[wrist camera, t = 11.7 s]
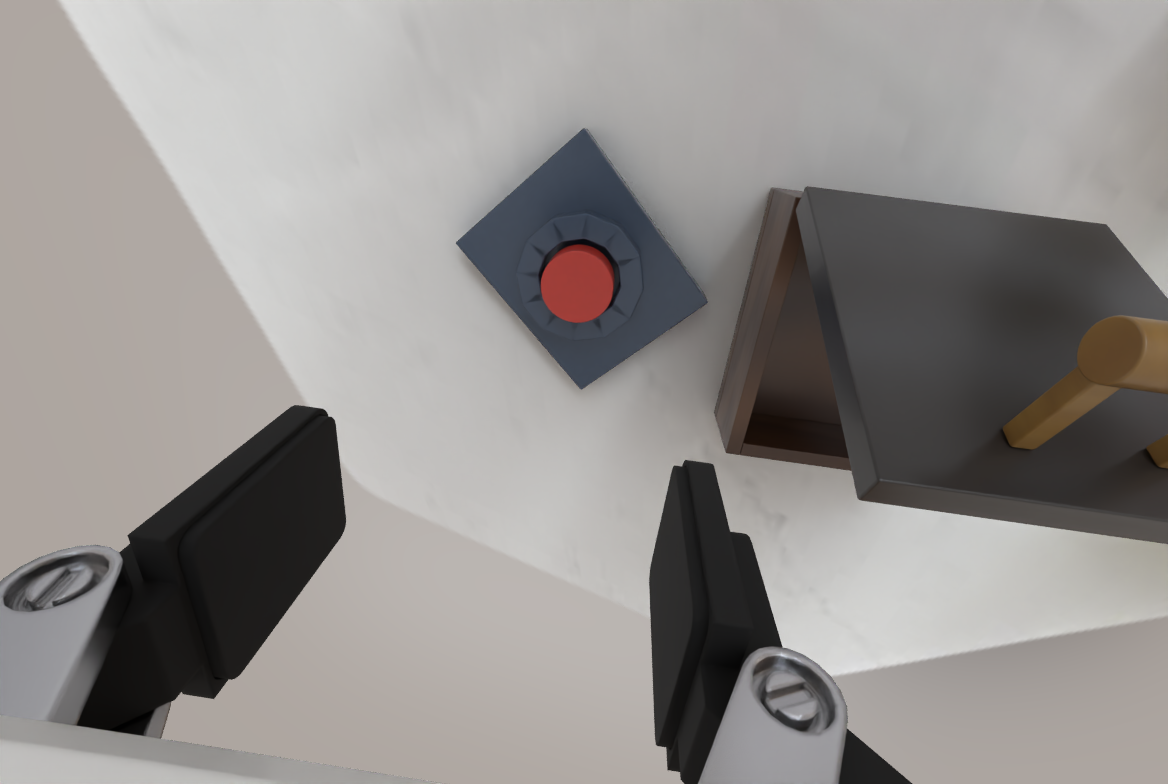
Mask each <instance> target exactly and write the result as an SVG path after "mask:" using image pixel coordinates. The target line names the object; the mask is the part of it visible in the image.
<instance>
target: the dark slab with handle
mask: <svg viewBox="0 0 1168 784" xmlns="http://www.w3.org/2000/svg"><path fill="white" fill-rule="evenodd" d="M796 214H797V219H798V223H799V228H800V233H801V237H802V242H803V246H804V251H805V256H806V260H807V265H808V270H809V274H810V279H811V284H812V288H813V293H814V298H815V302H816V307H817V312H818V316H819V321H820V326H821V330H822V335H823V340H824V344H825V349H826V354H827V358H828V363H829V367H830V372H831V377H832V381H833V386H834V391H835V395H836V400H837V405H838V409H839V414H840V419H841V423H842V428H843V433H844V437H845V442H846V447H847V451H848V456H849V461H850V465H851V470H852V474H853V479H854V484H855V488H856V493H857V498H858V499H859V500H862V501H869V502H876V503H883V504H890V505H897V506H904V507H911V508H918V509H925V510H932V511H939V512H946V513H953V514H960V515H967V516H974V517H981V518H988V519H995V520H1002V521H1009V522H1016V523H1023V524H1030V525H1037V526H1044V527H1051V528H1058V529H1065V530H1072V531H1080V532H1087V533H1094V534H1101V535H1108V536H1115V537H1122V538H1129V539H1136V540H1143V541H1150V542H1157V543H1164V544H1168V298H1167V297H1166V296H1165V295H1164V294H1163V292H1162V291H1161V290H1160V289H1159V288H1158V286H1157V285H1156V284H1155V283H1154V281H1153V280H1152V279H1151V278H1150V277H1149V275H1148V274H1147V273H1146V272H1145V271H1144V269H1143V268H1142V267H1141V266H1140V265H1139V263H1138V262H1137V261H1136V260H1135V259H1134V257H1133V256H1132V255H1131V254H1130V252H1129V251H1128V250H1127V249H1126V248H1125V246H1124V245H1123V244H1122V243H1121V242H1120V240H1119V239H1118V238H1117V237H1116V236H1115V234H1114V233H1113V232H1112V231H1111V230H1110V228H1109V227H1108V226H1107V225H1106V224H1099V223H1091V222H1083V221H1075V220H1067V219H1060V218H1052V217H1044V216H1036V215H1028V214H1020V213H1012V212H1005V211H997V210H989V209H981V208H973V207H965V206H957V205H949V204H942V203H934V202H926V201H918V200H910V199H902V198H894V197H887V196H879V195H871V194H863V193H855V192H847V191H839V190H832V189H824V188H816V187H808V186H807V187H805V189H804V192H803V194H802V196H801V199H800V201H799V203H798V206H797V208H796Z"/></svg>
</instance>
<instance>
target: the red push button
mask: <svg viewBox="0 0 1168 784" xmlns="http://www.w3.org/2000/svg"><path fill="white" fill-rule="evenodd" d="M613 289H614V272H613V268H612V266H611V264H610V262H609V260H608V259H607V258H606V256H605V255H604V254H603V253H602V252H600V251H599V250H597V249H595V248H593V247H591V246H588V245H580V244H578V245H571V246H568V247H565V248H563V249H561V250H560V251H559V252H557V253H556V254H555V255H554V256H553V258H552V259H551V260H550V262H549V263H548V265H547V266H546V268H545V270H544V272H543V275H542V278H541V293H542V297H543V299H544V302H545V304H546V305H547V307H548V308H549V309H550V310H551V312H552V313H554V314H555V315H556V316H558V317H559V318H561V319H563V320H566V321H569V322H575V323H582V322H587V321H590V320H593V319H595V318H597V317H598V316H600V315H601V314H602V313H603V312H604V311H605V310H606V309H607V307H608V306H609V304H610V302H611V299H612V295H613Z"/></svg>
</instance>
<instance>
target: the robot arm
mask: <svg viewBox="0 0 1168 784" xmlns="http://www.w3.org/2000/svg"><path fill="white" fill-rule="evenodd" d="M342 488H343V487H342V478H341V469H340V459H339V450H338V441H337V432H336V424H335V420H334V419H333V418H332V417H328V414H327V412H326V411H325V410H324V409H320V408H313V407H306V406H299V405H294V406H292V407H290V408H289V409H288V410H286V411H285V412H284V413H283V414H281V415H280V416H279V417H277V418H276V419H275V420H274V421H272V422H271V423H270V424H269V425H267V426H266V427H265V428H264V429H262V430H261V431H260V432H258V433H257V434H256V435H255V436H254V437H252V438H251V439H250V440H248V441H247V442H246V443H245V444H243V445H242V446H241V447H239V448H238V449H237V450H235V451H234V452H233V453H232V454H230V455H229V456H228V457H227V458H225V459H224V460H223V461H221V462H220V463H219V464H218V465H216V466H215V467H214V468H213V469H211V470H210V471H209V472H208V473H206V474H205V475H204V476H202V477H201V478H200V479H199V480H197V481H196V482H195V483H194V484H192V485H191V486H190V487H188V488H187V489H186V490H185V491H183V492H182V493H181V494H180V495H178V496H177V497H176V498H174V499H173V500H172V501H171V502H169V503H168V504H167V505H166V506H164V507H163V508H162V509H160V510H159V511H158V512H157V513H155V514H154V515H153V516H152V517H150V518H149V519H148V520H146V521H145V522H144V523H143V524H141V525H140V526H139V527H138V528H136V529H135V530H134V531H132V532H131V533H130V534H129V535H128V538H129V541H130V544H129V545H128V546H127V547H126V548H124V549H123V550H122V551H121V552H117V551H116V550H114V549H112V548H111V547H105V546H99V545H90V546H89V545H88V546H77V547H72V548H68V549H63V550H59V551H56V552H53V553H50V554H47V555H45V556H41V557H39V558H37V559H35V560H33V561H31V562H29V563H27V564H25V565H23V566H21V567H19V568H18V569H17V570H15V571H14V572H12V573H11V574H9V575H8V576H6V577H5V578H3V579H2V580H1V581H0V784H443V783H437V782H432V781H425V780H419V779H413V778H407V777H401V776H394V775H388V774H381V773H376V772H369V771H363V770H357V769H351V768H344V767H338V766H332V765H326V764H319V763H312V762H307V761H300V760H294V759H288V758H281V757H275V756H268V755H262V754H256V753H249V752H243V751H237V750H231V749H225V748H218V747H212V746H205V745H199V744H192V743H186V742H179V741H173V740H165V739H161V737H162V734H163V730H164V727H165V724H166V720H167V717H168V713H169V710H170V706H171V701H173V700H175V699H176V698H177V696H178V695H179V694H180V693H181V692H182V693H183V694H186V695H192V696H199V697H205V698H211V699H214V698H215V697H216V695H217V694H218V693H219V691H220V690H221V689H222V687H223V686H224V685H225V683H226V682H227V681H228V679H231V680H232V679H235V678H236V677H238V676H239V675H240V674H241V673H242V671H243V670H244V669H245V667H246V666H247V665H248V663H249V662H250V660H251V659H252V658H253V657H254V655H255V654H256V652H257V651H258V650H259V648H260V647H261V646H262V644H263V643H264V642H265V640H266V639H267V637H268V636H269V635H270V633H271V632H272V631H273V629H274V628H275V626H276V625H277V624H278V623H279V621H280V620H281V618H282V617H283V616H284V614H285V613H286V611H287V610H288V609H289V607H290V606H291V605H292V603H293V602H294V601H295V599H296V598H297V596H298V595H299V594H300V592H301V591H302V590H303V588H304V587H305V585H306V584H307V583H308V581H309V580H310V579H311V577H312V576H313V575H314V573H315V572H316V570H317V569H318V568H319V566H320V565H321V563H322V562H323V561H324V559H325V558H326V557H327V556H328V554H329V553H330V551H331V550H332V549H333V547H334V546H335V544H336V543H337V542H338V540H339V539H340V538H341V536H342V534H343V532H344V529H345V525H346V515H345V506H344V498H343V497H344V496H343V489H342ZM649 586H650V613H651V638H652V639H651V640H652V668H653V694H654V720H655V721H654V722H655V740H656V745H657V746H662V747H666V749H667V767H668V770H671V771H678V772H680V777H681V780H682V782H684V784H912V783H911V782H910V781H908V780H907V779H906V778H905V777H904V776H903V775H901V774H900V773H899V772H898V771H896V770H895V769H894V768H893V767H892V766H891V765H890V764H888V763H887V762H886V761H885V760H884V759H882V758H881V757H880V756H879V755H878V754H877V753H875V752H874V751H873V750H872V749H871V748H869V747H868V746H867V745H866V744H865V743H864V742H862V741H861V740H860V739H859V738H858V737H856V736H855V735H854V734H853V733H852V732H851V731H849V730H848V729H847V723H848V716H847V705H846V703H845V700H844V698H843V695H842V692H841V690H840V689H839V688H838V686H837V685H836V683H835V682H834V680H833V679H832V677H831V676H830V675H829V674H828V673H827V672H826V671H825V670H823V669H822V668H821V667H820V666H819V665H818V664H817V663H815V662H814V661H812V660H811V659H809V658H808V657H806V656H804V655H803V654H800V653H798V652H795V651H793V650H790V649H787V648H782V644H781V641H780V637H779V634H778V631H777V627H776V624H775V620H774V617H773V613H772V610H771V607H770V603H769V600H768V596H767V593H766V590H765V586H764V583H763V579H762V576H761V573H760V569H759V566H758V562H757V559H756V555H755V552H754V549H753V545H752V542H751V540H750V537H749V536H748V535H747V534H742V533H735V532H730V530H729V526H728V522H727V517H726V513H725V509H724V505H723V501H722V497H721V493H720V489H719V485H718V481H717V477H716V473H715V469H714V466H713V464H710V463H703V462H696V461H689V460H685V461H684V463H683V466H682V467H681V466H674V467H673V469H672V473H671V477H670V482H669V486H668V491H667V495H666V500H665V504H664V509H663V513H662V517H661V522H660V526H659V531H658V535H657V540H656V544H655V549H654V553H653V558H652V562H651V568H650V578H649Z"/></svg>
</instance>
